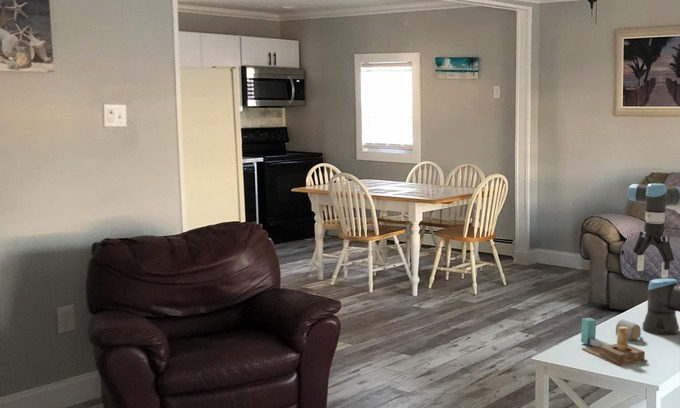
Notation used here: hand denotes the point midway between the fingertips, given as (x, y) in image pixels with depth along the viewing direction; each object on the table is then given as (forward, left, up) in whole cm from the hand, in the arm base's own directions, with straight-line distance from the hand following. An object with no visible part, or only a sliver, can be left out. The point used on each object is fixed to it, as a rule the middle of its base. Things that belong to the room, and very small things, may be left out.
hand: (652, 274), depth 328 cm
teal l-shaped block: (+18, -9, -31) cm, 37 cm away
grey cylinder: (-4, -16, -32) cm, 36 cm away
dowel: (+18, +5, -31) cm, 36 cm away
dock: (+18, 0, -32) cm, 36 cm away
